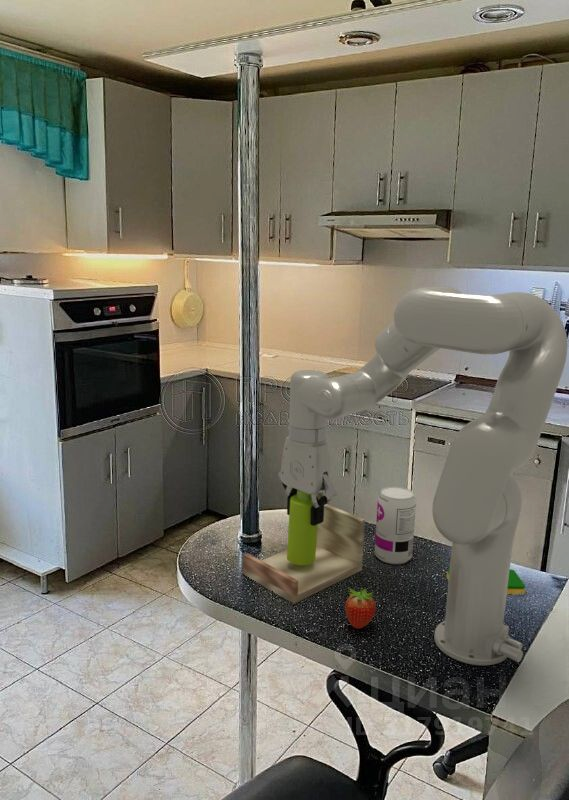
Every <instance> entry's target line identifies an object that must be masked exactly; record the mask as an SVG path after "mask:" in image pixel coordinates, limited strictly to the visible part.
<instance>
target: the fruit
mask: <svg viewBox="0 0 569 800" xmlns="http://www.w3.org/2000/svg"><path fill="white" fill-rule="evenodd" d="M350 592H351V593H350ZM374 593H375V592H374V591H372V592H368V593H367V588H364V589H362V587H360V591H355V590H353V589H352V588H351V587H349V592H348V594H349V596H348V598H347V600H346V601H345V608H344V609H345V614H346V618H347V619H348V622H349V623H350V625H351V626H352V627H353V628H354V629H356V630H359V629H362V628H365V627H366V626H367V625H368V624H369V623H370V622H371V621H372V620H373V618H374V617H375V615H376V610H377V607H376V602H375V600H374V598H373V596H371V595H372V594H374Z"/></svg>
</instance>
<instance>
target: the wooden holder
mask: <svg viewBox="0 0 569 800" xmlns="http://www.w3.org/2000/svg"><path fill="white" fill-rule="evenodd" d="M328 504H329V503H328ZM328 504H326V505H324V521H323V522H322V523H320V524H318V527H317V541H316V556H315V561H314V562H313V563H312V564H309V565H296V564H293V563H291V562H289V561H288V560H287V549H286V550H282V551H281V552H279V553H276V554H273V555H270V556H269V557H266V558H264V559H261V560H260V559H259V558H257V557H255V556H254V555H251V554H250V553H248V552H245V553H243V554H242V575H243V574H244V575H245V577H246V576H247V578H248V577H249V578H248V579H250V580H251V579H252V581H253V580H254V581H253V582H255V581H256V582H255V583H257V584H258V583H259V585H260V584H261V585H260V586H262V587H264V588H265V589H267V590H269V591H270V592H272V591H273V593H274V594H276V595H278V596H279V597H281V598H283V599H285V600H286V601H288V602H290V603H291V604H294V605H295V604H296V603H298V602H301V601H303V600H304V599H307V598H308V597H312V596H313V595H314V594H316V593H318V592H321V591H322V590H325V589H327V588H329V587H331V586H333V585H335V584H337V583H339V582H342V581H344V580H345V579H347V578H350V577H351V576H353V575H356V574H357V573H359V572H361V571H363V557H364V544H365V543H364V541H365V540H364V539H365V523H366V521H365V518H363V517H360V516H358V515H355V514H353V513H349V512H347V511H345V510H343V509H340V508H337V507H335V506H332V505H330V504H329V505H328ZM244 575H243V576H244Z"/></svg>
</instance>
